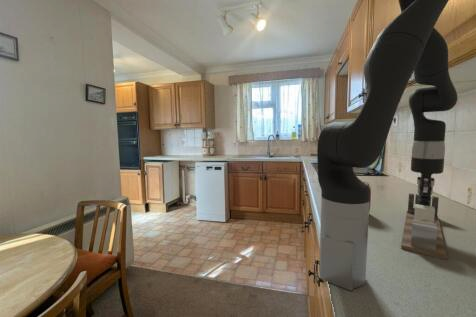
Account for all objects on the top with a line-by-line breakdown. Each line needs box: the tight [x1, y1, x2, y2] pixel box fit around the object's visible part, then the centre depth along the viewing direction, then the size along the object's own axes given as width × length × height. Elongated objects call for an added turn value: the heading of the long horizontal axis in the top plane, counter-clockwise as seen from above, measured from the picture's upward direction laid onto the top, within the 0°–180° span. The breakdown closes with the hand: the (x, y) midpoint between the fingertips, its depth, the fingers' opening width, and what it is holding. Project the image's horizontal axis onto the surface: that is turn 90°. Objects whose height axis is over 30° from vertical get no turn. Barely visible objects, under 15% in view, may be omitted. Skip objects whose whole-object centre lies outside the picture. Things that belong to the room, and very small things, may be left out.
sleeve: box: [414, 203, 435, 223], centre depth 66 cm, size 4×4×7 cm
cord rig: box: [400, 192, 447, 260], centre depth 72 cm, size 35×9×8 cm, turn 142°
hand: (423, 212), depth 70 cm, fingers closed
